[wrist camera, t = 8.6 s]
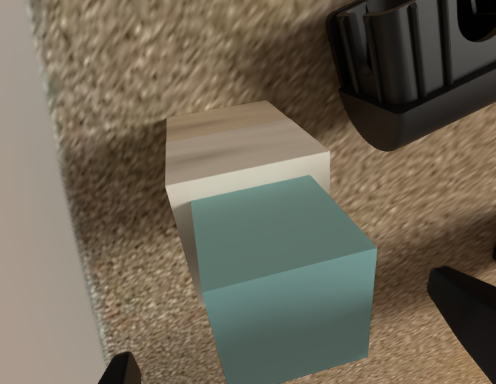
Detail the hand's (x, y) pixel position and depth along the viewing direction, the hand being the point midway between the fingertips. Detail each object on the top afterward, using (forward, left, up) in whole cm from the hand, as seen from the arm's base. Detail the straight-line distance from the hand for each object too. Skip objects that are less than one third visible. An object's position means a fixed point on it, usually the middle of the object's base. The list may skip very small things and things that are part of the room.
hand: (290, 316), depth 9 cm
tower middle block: (0, 0, -9) cm, 9 cm away
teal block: (0, 0, -4) cm, 4 cm away
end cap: (+5, -12, -13) cm, 19 cm away
